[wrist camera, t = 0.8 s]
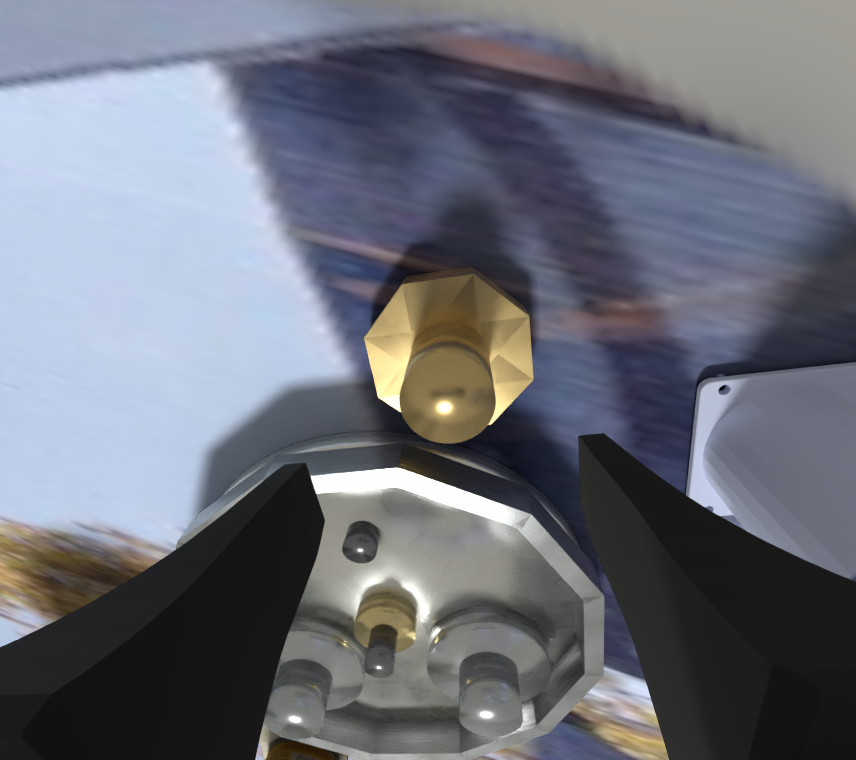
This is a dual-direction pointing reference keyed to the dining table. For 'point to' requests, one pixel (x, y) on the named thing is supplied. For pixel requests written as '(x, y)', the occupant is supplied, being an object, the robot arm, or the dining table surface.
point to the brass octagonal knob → (450, 353)
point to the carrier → (429, 603)
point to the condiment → (292, 749)
